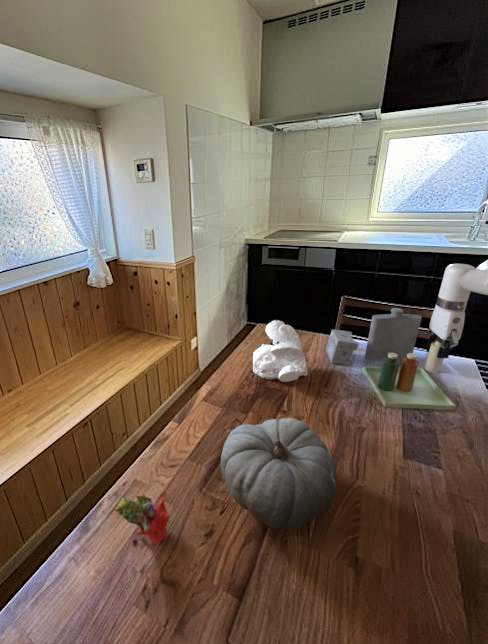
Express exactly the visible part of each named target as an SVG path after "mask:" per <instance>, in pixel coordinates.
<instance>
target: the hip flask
mask: <svg viewBox="0 0 488 644" xmlns="http://www.w3.org/2000/svg"><path fill="white" fill-rule="evenodd" d="M390 312H391V313H384V314H373V315H372V316H371V322H370V327H369V333H368V338H367V344H366V348H365V354H364V359H365V360H367V361H371V362H372V361H383V360H384V358H388V353H396V354H397V355H398V357H397V360H398V361H402V360H403V359H404V358H407V354H408V353H414V349H415V345H416V341H417V338H418V334H419V330H420V326H421V322H422V318H423V317H422V316H421V315H419V314H411V313H404V309H402V308H400V307H392V308H391V309H390Z"/></svg>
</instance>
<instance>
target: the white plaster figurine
mask: <svg viewBox="0 0 488 644" xmlns="http://www.w3.org/2000/svg"><path fill="white" fill-rule="evenodd" d="M265 334H266V335H267V336H268V338H269V339H270V340H272V345H271V344H265V343H262V344H261V346H259V347H258V348H256V349H255V350H254V351H253V352H252V354H253V355H252V372H253V373H254V375H257V376H258V377H260V378H261V379H264V378H265V379H264V380H278V381H280V382H281V383H282V382H283V383H289V382H293V381H297V380H298V379H299V377H302V376H304V377H306V376H308V368H307V361H306V358H305V352H304V351H303V350H302V343H301V339H300V336H299V334H298V332H297V331H296V330H295V329H294V327H292V326H291V325H289V324H285V322H284V321H283V320H279V319H277V320H276V319H274V320H272V321H271V322H269V323H267V325H266V327H265Z"/></svg>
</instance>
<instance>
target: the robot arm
mask: <svg viewBox="0 0 488 644" xmlns="http://www.w3.org/2000/svg"><path fill="white" fill-rule="evenodd" d="M441 280H442V281H441V284H440V288H439V292H438V295H437V298H436V302H435V307H434V309H433V311H432V314H431V318H430V321H429V322H428V327H429V329H428V331H429V333H428V341H427V343H426V348H427V349H430V346H431V343H433V342H436V338H437V337H440V338H441V339H442V343H441V347H439V351H438V354H437V357H438V358H444V359H448V358H449V357H450V353H451V350H452V349H453V348H454V347H457V346H458V345H459V341H460V340H461V337H462V335H463V330H464V325H465V321H466V320H465V319H466V312H465V311H466V308H467V305H468V301H469V298H470V295H471V292H472V293H477V294H480V295H484V296H488V259H487V260H485V261H484V262H482V263H481V264H479V265H478V266H477V267H474V266H473V265H470V264H467V263H466V264H465V263H452V264H449V265H447V266H446V267H445V270H444V273H443V277H442V279H441ZM447 341H448V342H447Z"/></svg>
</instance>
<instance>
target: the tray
mask: <svg viewBox="0 0 488 644" xmlns="http://www.w3.org/2000/svg"><path fill="white" fill-rule="evenodd" d="M400 368H401V366H399V368H398V372H397V376H396V381H395V385H394V389H393V391H383V390H381V389H380V388H379V387H378V383H379V378H380V373H381V369H382V366H362V369H361V371H362V372H363V375H364V376H365V377H366V380H367V381H368V382H369V384H370V386H371V387H372V389H373V390H374V392H375V394H376V396H377V397H378V399H379V401H380V403H381V404H382V406H383V407H384V408H395V409H421V410H442V411H443V410H444V411H455V409H456V407H457V405H456V404H455V403H454V402H453V401H452V400H451V399H450V397H448V395H447V394H446V392H444V391H443V389H441V387H439V385H438V384H437V383H436V382H435V381H434V380H433V379H432V377H431V376H430V375H429V374H428V373H427V372H426V371H425V370H424V369H423V368H422V367H418V370H417V373H416V377H415V381H414V385H413V388H412V391H411V392H403V391H400V390H398V389H397V388H396V384H397V380H398V376H399V372H400Z"/></svg>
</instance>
